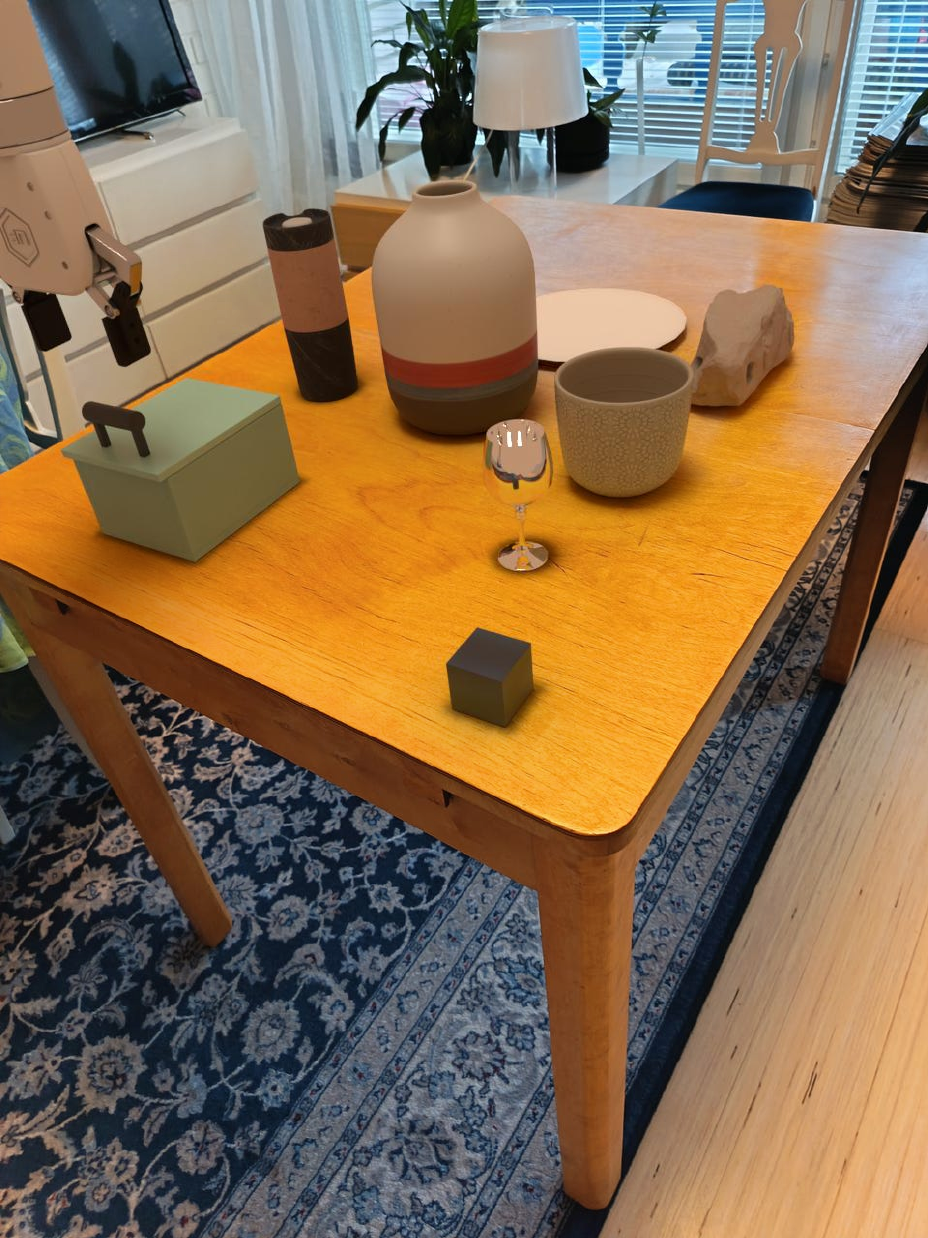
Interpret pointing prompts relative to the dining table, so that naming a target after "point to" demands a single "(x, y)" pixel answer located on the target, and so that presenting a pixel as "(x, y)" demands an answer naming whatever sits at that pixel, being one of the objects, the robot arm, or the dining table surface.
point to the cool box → (197, 491)
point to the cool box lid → (167, 427)
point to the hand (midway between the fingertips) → (94, 352)
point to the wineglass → (518, 481)
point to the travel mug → (312, 303)
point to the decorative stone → (740, 345)
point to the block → (490, 676)
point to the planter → (623, 418)
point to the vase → (456, 312)
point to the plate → (603, 322)
